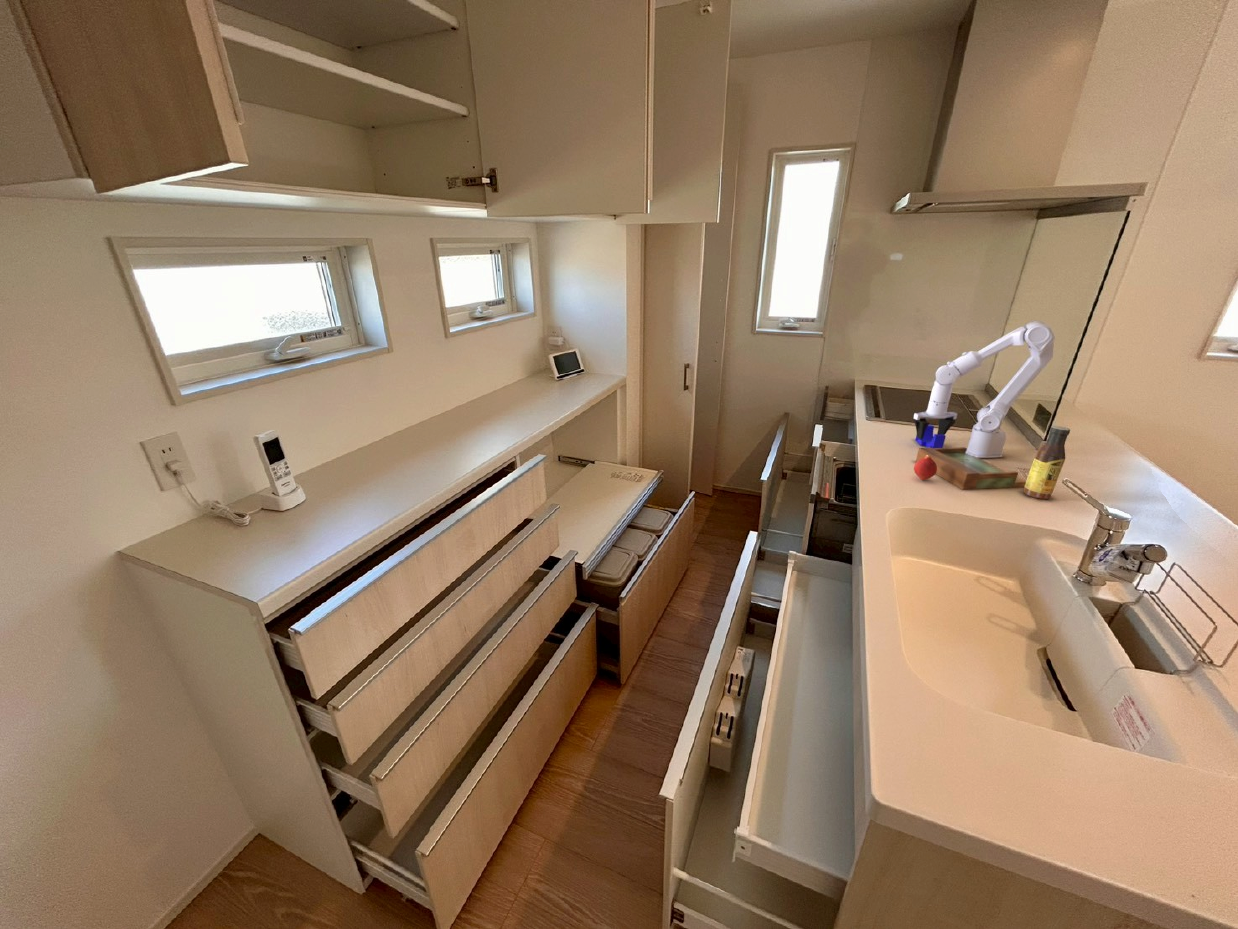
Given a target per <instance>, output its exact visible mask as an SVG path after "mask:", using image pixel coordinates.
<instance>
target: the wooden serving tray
mask: <svg viewBox="0 0 1238 929" xmlns="http://www.w3.org/2000/svg"><path fill="white" fill-rule="evenodd" d="M966 449H967V447H965V446H962V447H943V448H931V447H929V448H927V447H918V450H917V454H916V458H915V463H916V462H917V461H918V460H920V459H922V458H925V457H926V455H929V456H930V458H931V459H932V460H933V461H934V462H935V463H936V466H937V472H936V474H935V475H937V476H939V477H940V478H942V479H944V480H945V481H947V482H949V483H951V484H952V485H954V486H955V487H957V488H959V489H961V490H981V489H1000V488H1001V489H1003V488H1020V487H1022V488H1023V487H1024V488H1025V483H1026V480H1025V479H1022V478H1020V477H1018V475H1019V472H1018V471H1016V470H1015V471H1007V470H1004V469H1003V468H1000V467H998V466H996V465H994V464H991V463H989V462H987V461H985V460H983V459H982V458H977V457H975V456H971V455H969V454H967V453H966Z"/></svg>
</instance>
